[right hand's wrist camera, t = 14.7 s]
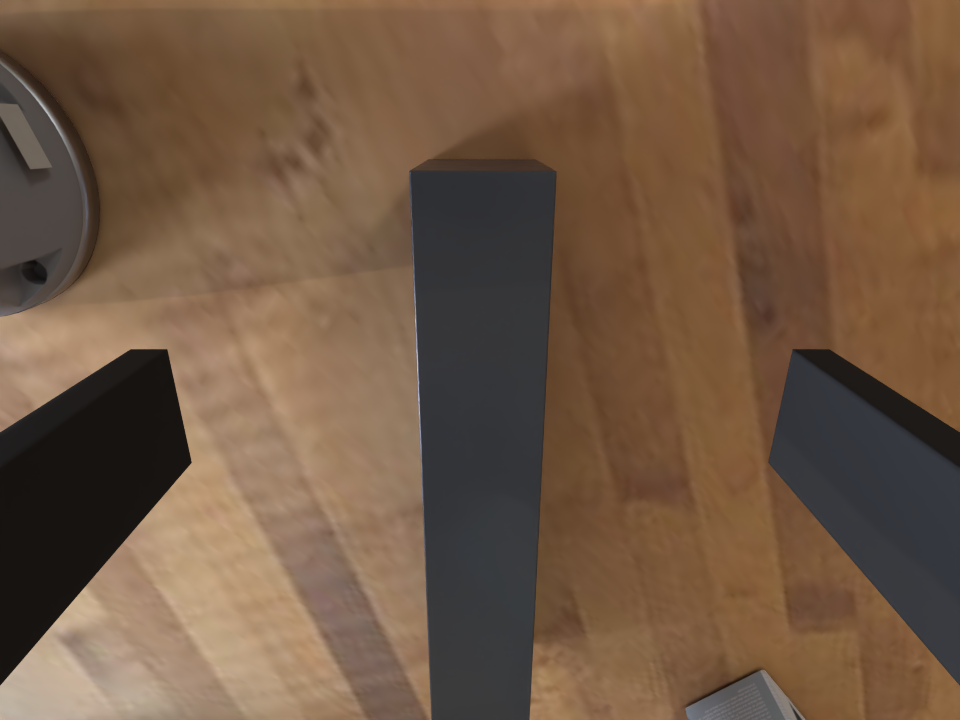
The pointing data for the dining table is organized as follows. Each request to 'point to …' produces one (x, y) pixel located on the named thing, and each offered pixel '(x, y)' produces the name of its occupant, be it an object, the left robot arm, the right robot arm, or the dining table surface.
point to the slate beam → (481, 421)
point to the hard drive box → (746, 702)
